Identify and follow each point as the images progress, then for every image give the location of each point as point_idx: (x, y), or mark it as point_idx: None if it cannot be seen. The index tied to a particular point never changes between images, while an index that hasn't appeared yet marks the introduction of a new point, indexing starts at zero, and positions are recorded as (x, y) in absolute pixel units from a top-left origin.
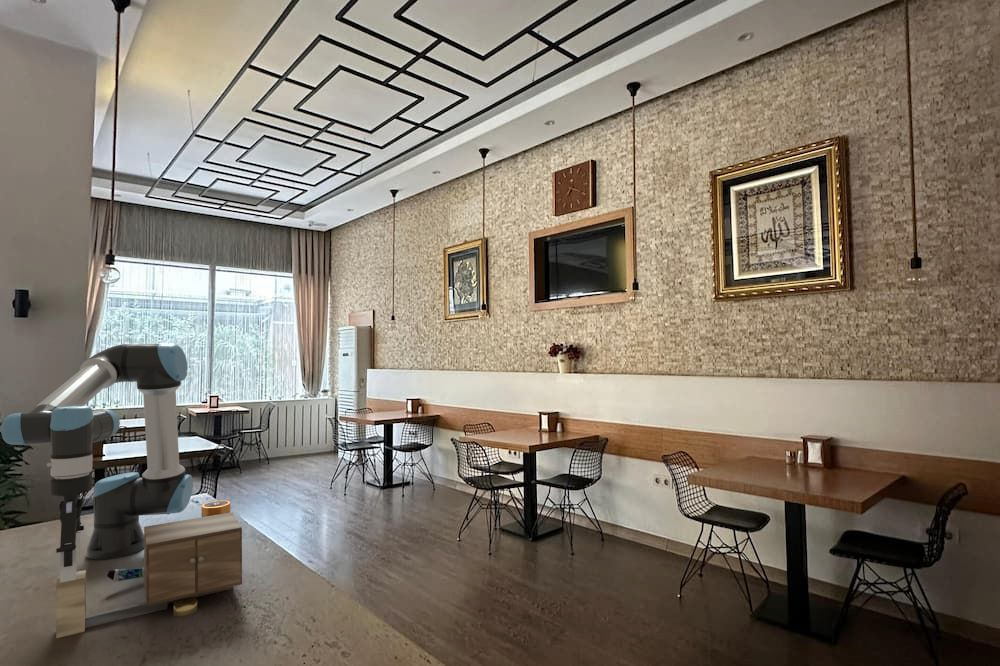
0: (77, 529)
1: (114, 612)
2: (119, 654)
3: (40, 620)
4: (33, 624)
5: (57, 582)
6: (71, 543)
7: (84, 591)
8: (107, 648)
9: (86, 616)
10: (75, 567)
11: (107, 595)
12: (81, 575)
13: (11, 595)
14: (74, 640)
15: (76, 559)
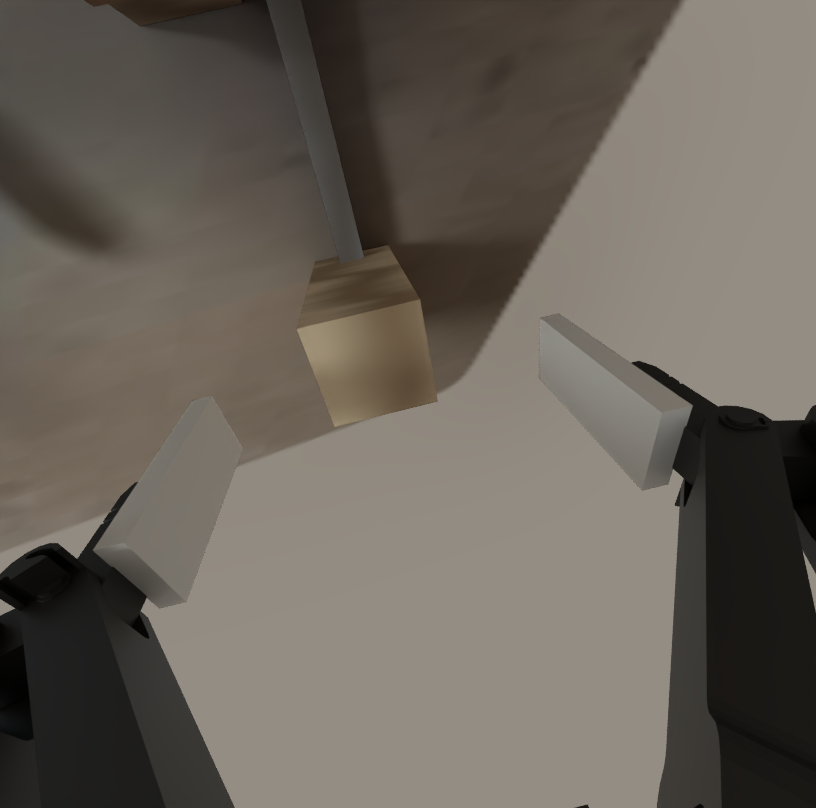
0: (102, 588)
1: (337, 152)
2: (627, 64)
3: (260, 396)
4: (284, 403)
5: (432, 399)
6: (194, 511)
7: (406, 280)
8: (555, 125)
9: (348, 257)
10: (598, 342)
11: (63, 250)
12: (381, 325)
13: (65, 523)
14: (439, 258)
15: (217, 414)
